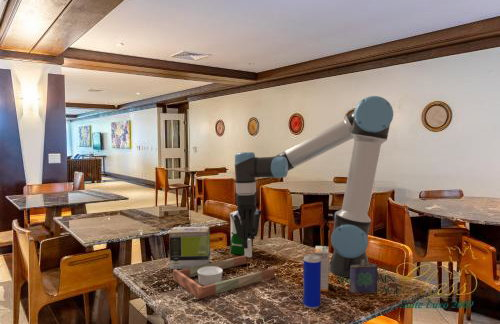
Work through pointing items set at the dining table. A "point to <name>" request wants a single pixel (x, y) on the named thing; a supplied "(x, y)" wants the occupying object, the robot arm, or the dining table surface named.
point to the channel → (218, 287)
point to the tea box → (189, 247)
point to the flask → (363, 278)
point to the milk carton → (235, 239)
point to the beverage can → (311, 281)
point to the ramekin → (209, 275)
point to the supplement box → (323, 265)
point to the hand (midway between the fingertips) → (248, 256)
